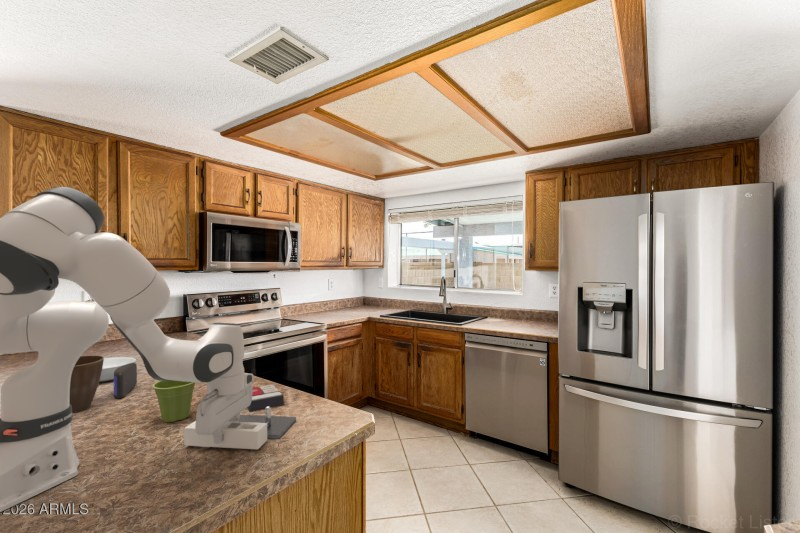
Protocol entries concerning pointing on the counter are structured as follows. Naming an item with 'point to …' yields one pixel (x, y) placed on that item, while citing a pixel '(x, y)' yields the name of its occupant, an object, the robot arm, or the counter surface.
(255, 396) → the calculator
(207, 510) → the counter surface
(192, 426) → the power strip
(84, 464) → the counter surface
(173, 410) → the plant pot
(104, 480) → the counter surface
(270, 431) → the mounting plate
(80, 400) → the plant pot
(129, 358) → the serving bowl
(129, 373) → the dark grey slab
